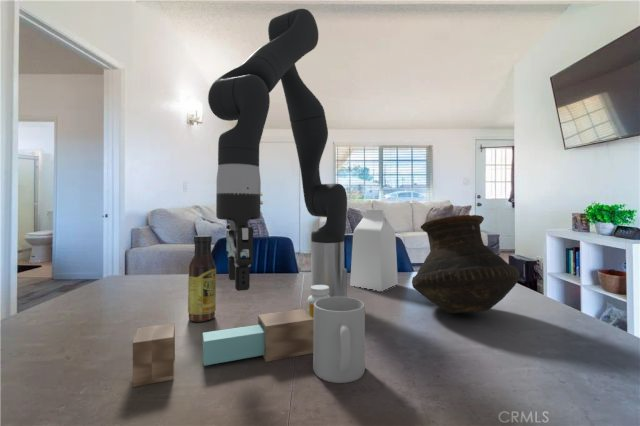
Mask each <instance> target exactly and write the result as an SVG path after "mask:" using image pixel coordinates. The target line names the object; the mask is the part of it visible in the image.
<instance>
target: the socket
mask: <svg viewBox="0 0 640 426" xmlns="http://www.w3.org/2000/svg"><path fill="white" fill-rule="evenodd" d="M175 325H176V324H175V323H166V324H159V325H150V326H142V327H138V328H137V331H136V333H135V335H134V338H133V341H132V388H134V387H140V386H146V385H150V384H157V383H161V382H166V381H172V380H174V378H175V364H176V363H175V362H176V357H175V356H176V343H175V342H176V340H175V337H176V334H175V333H176V332H175V331H176V330H175V329H176V327H175Z"/></svg>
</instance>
